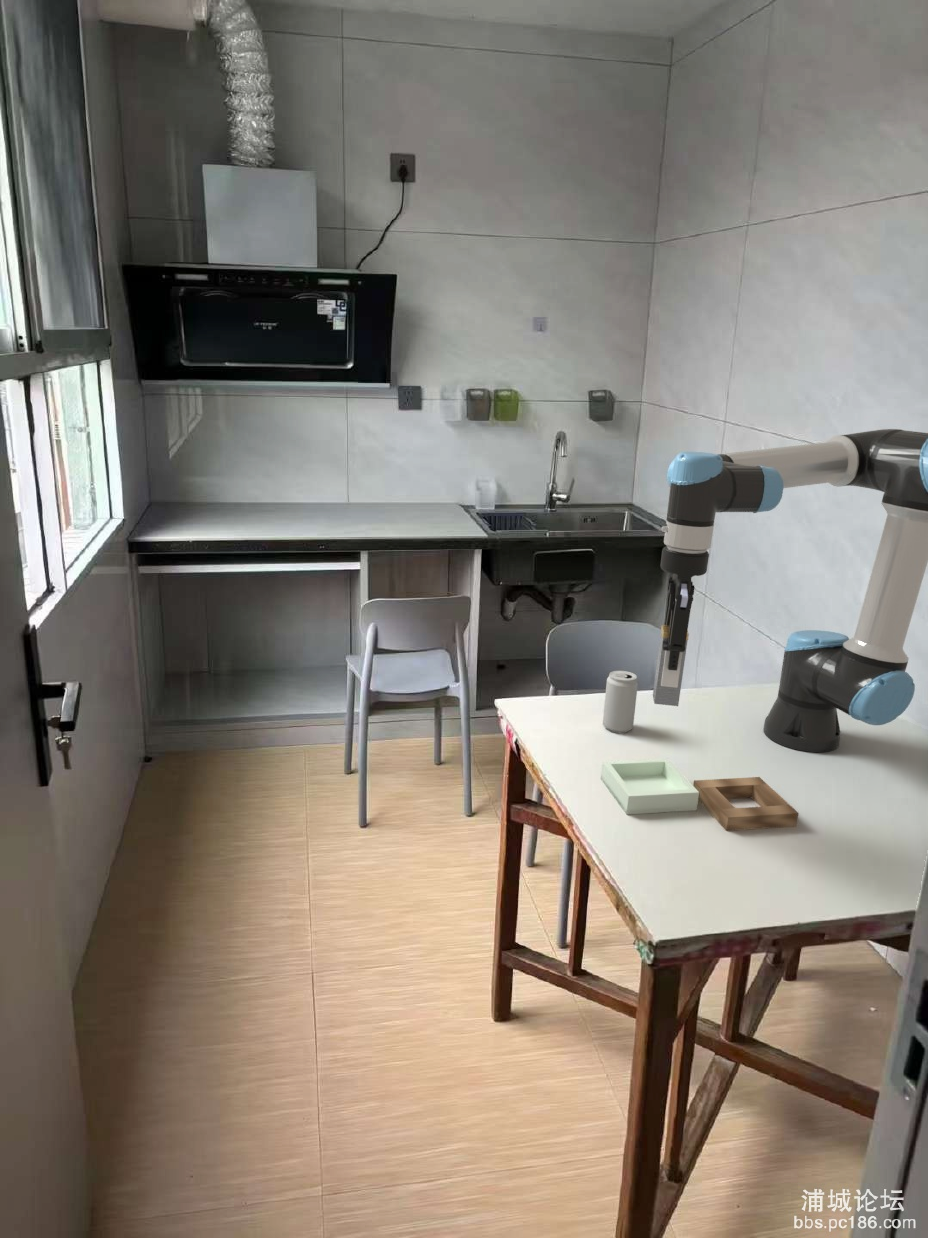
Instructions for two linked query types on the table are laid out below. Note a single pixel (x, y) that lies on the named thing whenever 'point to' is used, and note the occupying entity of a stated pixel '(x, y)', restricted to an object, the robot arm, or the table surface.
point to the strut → (661, 692)
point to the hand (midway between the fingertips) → (667, 680)
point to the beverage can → (620, 701)
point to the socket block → (732, 818)
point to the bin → (649, 786)
